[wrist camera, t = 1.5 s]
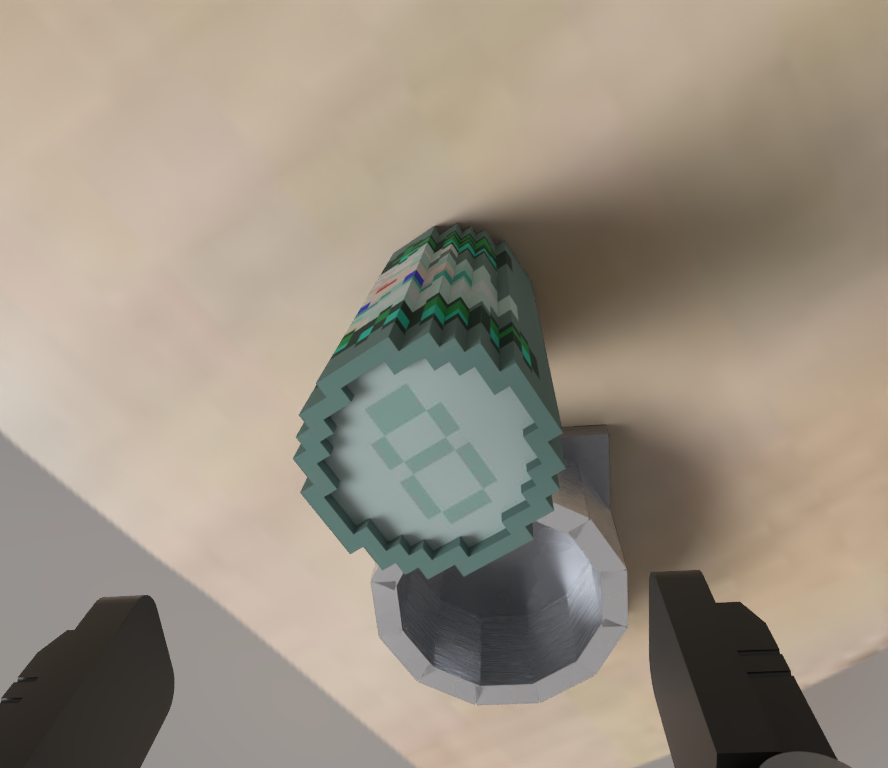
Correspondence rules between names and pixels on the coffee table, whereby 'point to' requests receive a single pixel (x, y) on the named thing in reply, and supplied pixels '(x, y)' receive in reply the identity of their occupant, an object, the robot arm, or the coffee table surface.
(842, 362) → the coffee table surface
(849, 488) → the coffee table surface
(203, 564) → the coffee table surface
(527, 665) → the collar holder
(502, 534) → the can
